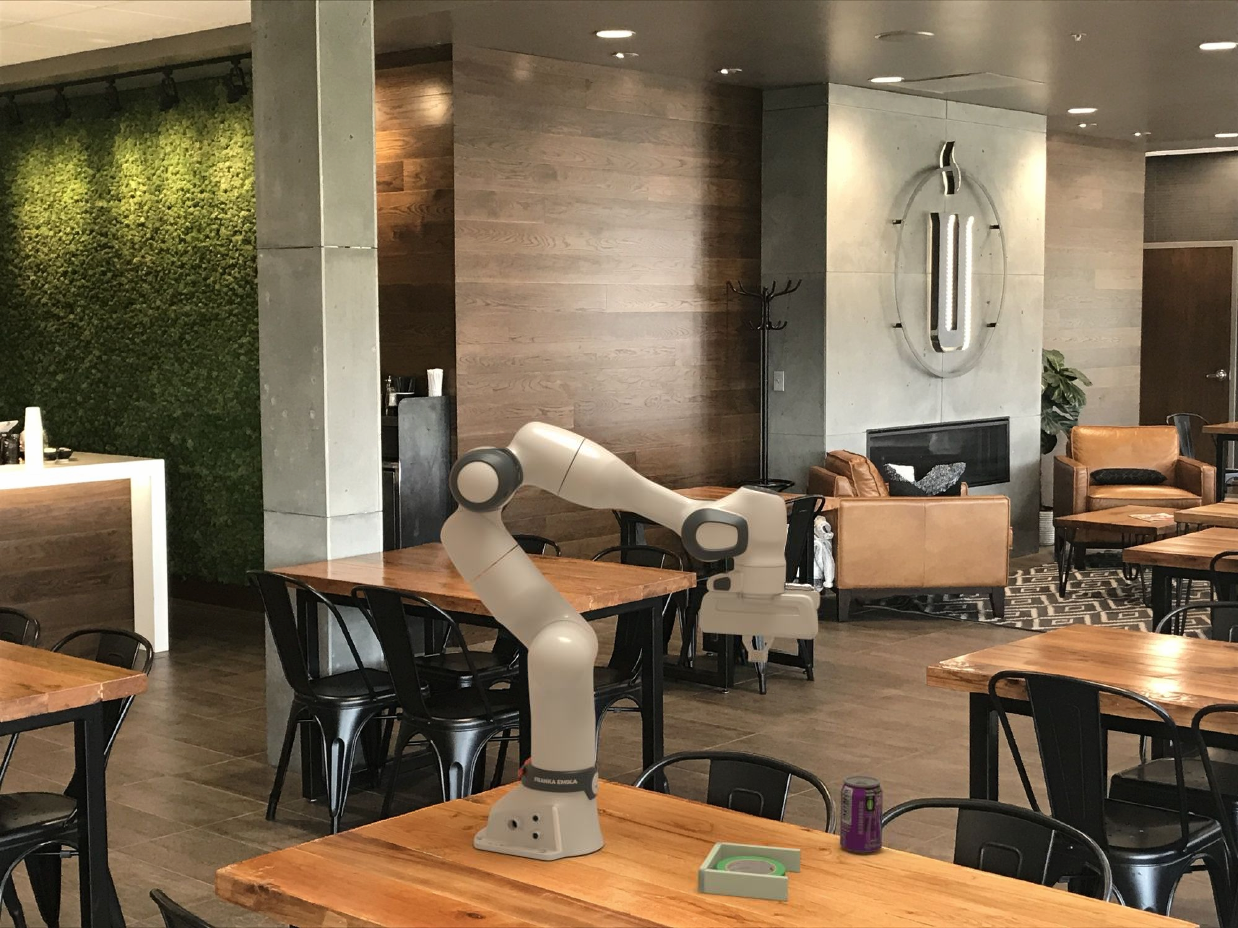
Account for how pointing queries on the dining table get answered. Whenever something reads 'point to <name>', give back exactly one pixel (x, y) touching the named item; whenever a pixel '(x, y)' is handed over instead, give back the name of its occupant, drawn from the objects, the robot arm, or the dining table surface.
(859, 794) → the beverage can
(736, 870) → the tape roll
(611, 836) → the dining table surface
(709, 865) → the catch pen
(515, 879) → the dining table surface
